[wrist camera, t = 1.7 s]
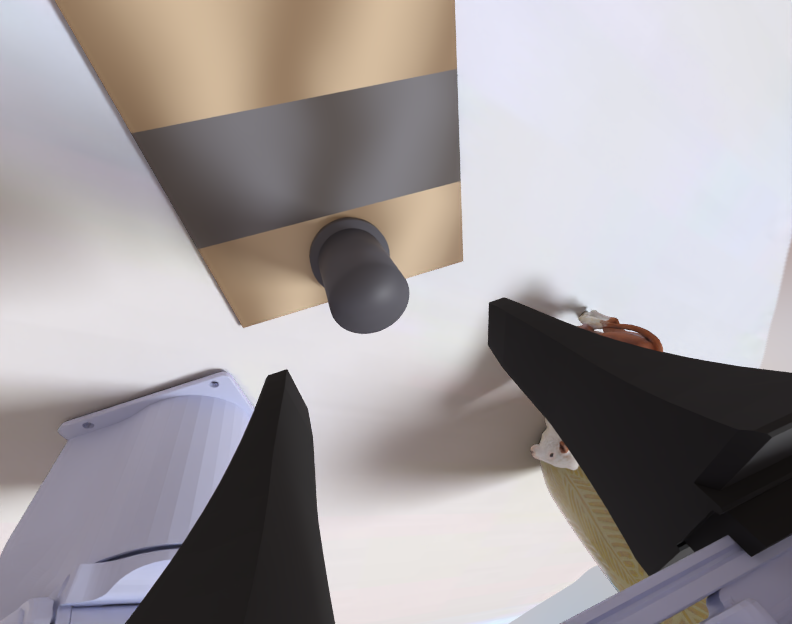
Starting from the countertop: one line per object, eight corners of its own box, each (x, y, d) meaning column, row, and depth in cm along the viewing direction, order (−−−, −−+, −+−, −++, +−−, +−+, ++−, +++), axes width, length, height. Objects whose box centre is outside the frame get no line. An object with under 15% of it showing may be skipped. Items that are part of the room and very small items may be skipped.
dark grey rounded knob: (322, 299, 19) (335, 352, 15) (297, 229, 16) (305, 271, 12) (392, 278, 20) (422, 323, 16) (379, 208, 17) (411, 241, 13)
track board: (243, 326, 19) (243, 327, 18) (-174, -403, 7) (-185, -415, 7) (461, 259, 21) (463, 261, 21) (439, -375, 9) (442, -384, 9)
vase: (611, 446, 47) (890, 734, 26) (511, 482, 43) (745, 862, 22) (666, 360, 37) (1183, 705, 16) (544, 395, 33) (1027, 927, 12)
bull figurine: (488, 405, 31) (544, 485, 25) (576, 288, 26) (677, 351, 19) (518, 408, 33) (577, 483, 27) (606, 300, 28) (706, 362, 21)
